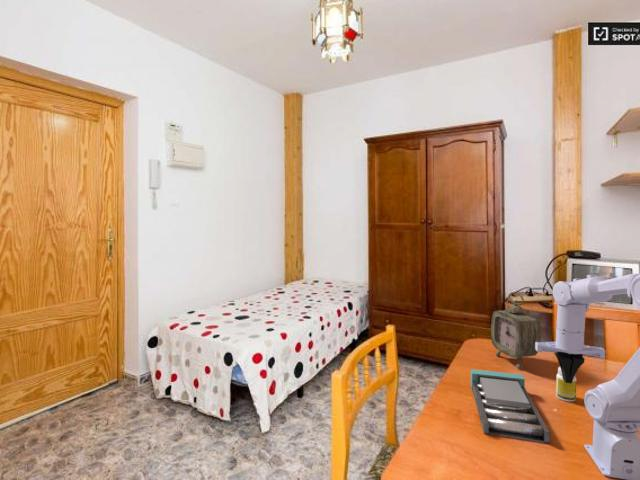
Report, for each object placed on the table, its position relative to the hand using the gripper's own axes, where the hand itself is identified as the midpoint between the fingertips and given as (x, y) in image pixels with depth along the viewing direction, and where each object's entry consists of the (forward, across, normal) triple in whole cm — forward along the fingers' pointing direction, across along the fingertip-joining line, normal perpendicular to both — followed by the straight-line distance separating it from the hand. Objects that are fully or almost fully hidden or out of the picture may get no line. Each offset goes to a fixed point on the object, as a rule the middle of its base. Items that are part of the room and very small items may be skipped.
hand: (567, 381), depth 89 cm
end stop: (+11, +14, -12) cm, 21 cm away
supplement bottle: (+11, -4, -12) cm, 17 cm away
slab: (+7, +14, -4) cm, 16 cm away
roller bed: (+10, +14, 0) cm, 17 cm away
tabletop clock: (+11, +4, -36) cm, 37 cm away
